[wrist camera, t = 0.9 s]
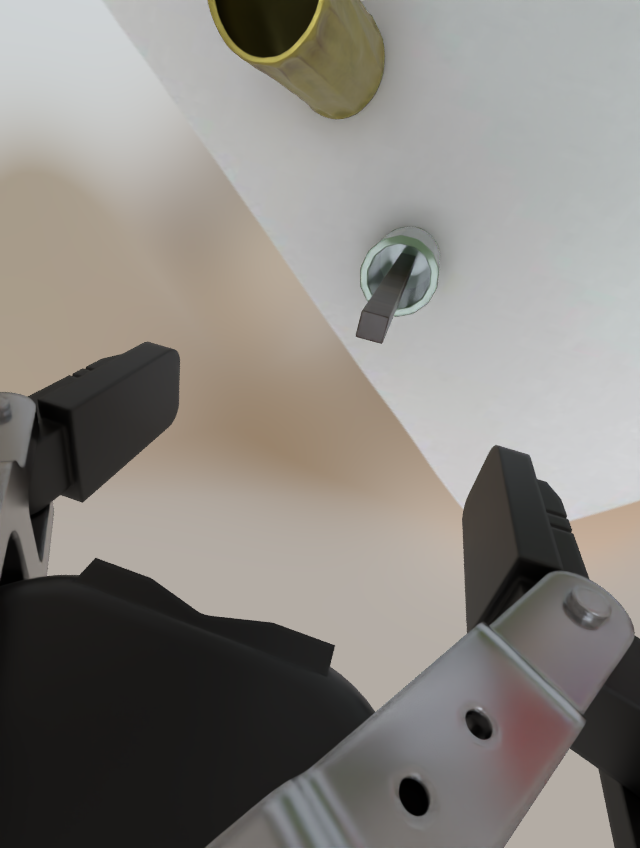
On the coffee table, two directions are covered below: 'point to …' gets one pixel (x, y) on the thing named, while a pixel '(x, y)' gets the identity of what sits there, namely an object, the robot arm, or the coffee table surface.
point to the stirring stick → (385, 300)
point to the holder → (422, 273)
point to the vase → (308, 48)
